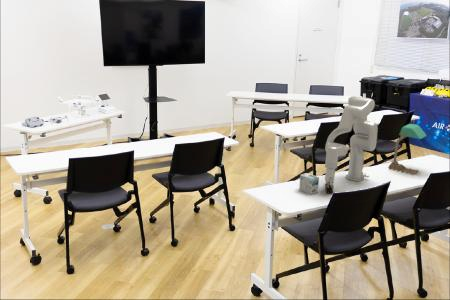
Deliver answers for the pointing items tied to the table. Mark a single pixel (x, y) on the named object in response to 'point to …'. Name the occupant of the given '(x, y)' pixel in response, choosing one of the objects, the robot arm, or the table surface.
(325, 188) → the walnut block
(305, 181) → the light bulb box
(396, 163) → the banker's lamp
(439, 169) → the table surface
